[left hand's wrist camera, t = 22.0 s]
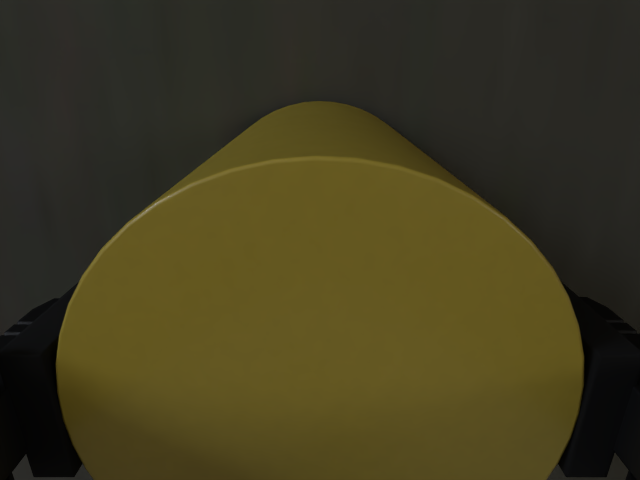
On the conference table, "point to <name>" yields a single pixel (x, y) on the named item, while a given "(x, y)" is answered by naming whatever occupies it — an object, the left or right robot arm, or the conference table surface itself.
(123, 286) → the canister
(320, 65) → the conference table surface
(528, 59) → the conference table surface
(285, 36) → the conference table surface
